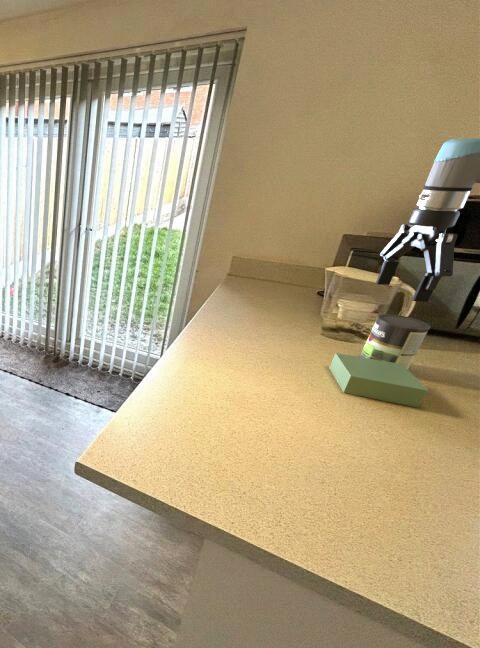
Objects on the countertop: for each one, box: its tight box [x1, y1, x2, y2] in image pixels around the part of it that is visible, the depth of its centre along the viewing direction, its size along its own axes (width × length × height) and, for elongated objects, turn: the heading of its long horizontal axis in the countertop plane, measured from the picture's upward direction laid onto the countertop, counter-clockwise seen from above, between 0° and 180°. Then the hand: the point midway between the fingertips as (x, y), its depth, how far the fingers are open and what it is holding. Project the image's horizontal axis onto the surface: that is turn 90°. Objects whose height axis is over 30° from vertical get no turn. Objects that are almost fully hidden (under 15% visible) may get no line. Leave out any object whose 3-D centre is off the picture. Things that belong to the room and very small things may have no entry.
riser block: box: [328, 352, 428, 408], centre depth 103 cm, size 14×14×5 cm
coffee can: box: [359, 313, 431, 370], centre depth 111 cm, size 10×10×14 cm
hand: (399, 292), depth 102 cm, fingers open, 13 cm apart
